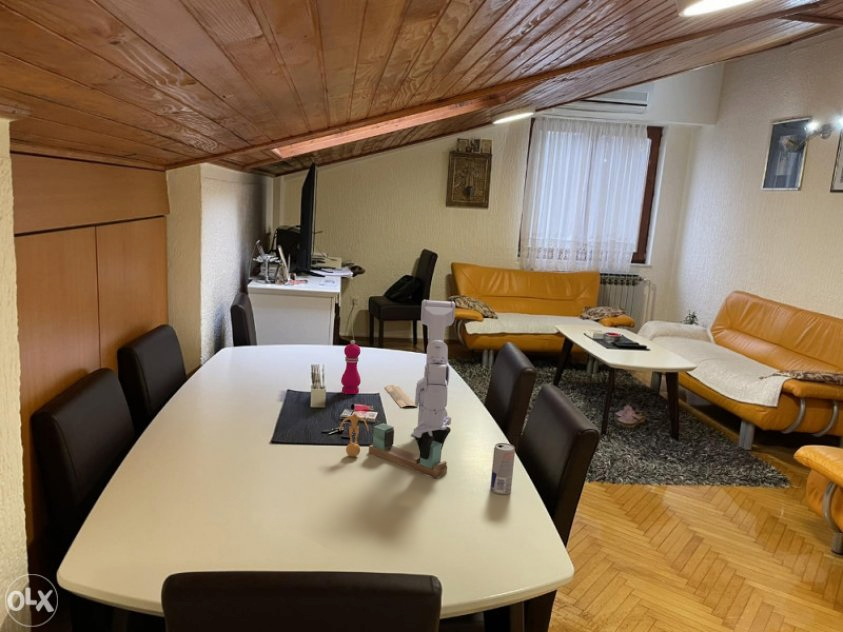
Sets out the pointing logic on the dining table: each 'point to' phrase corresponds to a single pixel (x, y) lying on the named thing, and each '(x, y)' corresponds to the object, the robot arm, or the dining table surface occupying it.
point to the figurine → (354, 448)
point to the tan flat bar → (399, 396)
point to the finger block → (432, 455)
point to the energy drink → (502, 468)
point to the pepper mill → (351, 369)
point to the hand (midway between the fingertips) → (430, 455)
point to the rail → (400, 452)
